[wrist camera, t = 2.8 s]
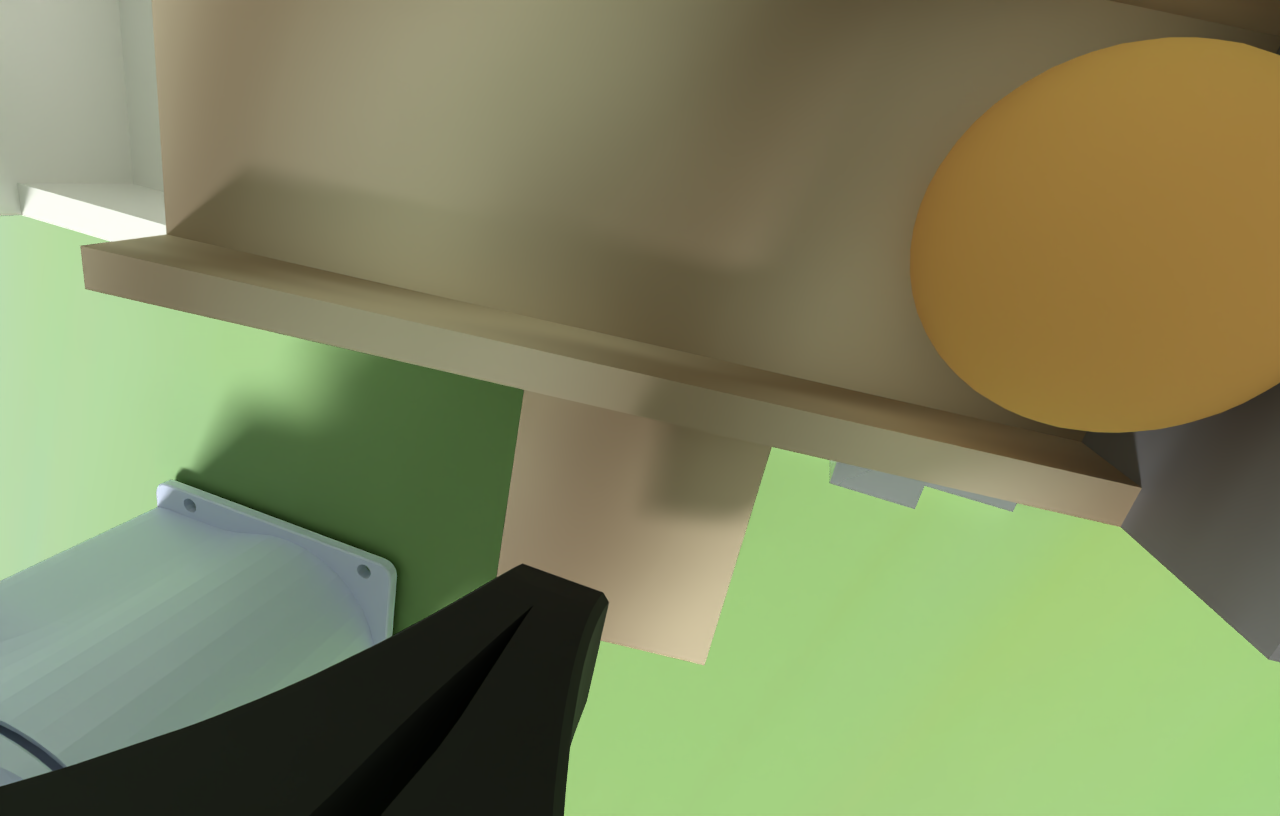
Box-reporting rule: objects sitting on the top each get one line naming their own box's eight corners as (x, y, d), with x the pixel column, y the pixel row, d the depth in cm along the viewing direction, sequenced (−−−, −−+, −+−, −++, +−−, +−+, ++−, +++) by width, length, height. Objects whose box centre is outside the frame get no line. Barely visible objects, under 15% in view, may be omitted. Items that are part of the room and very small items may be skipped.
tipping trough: (1354, 76, 11) (2478, -73, 4) (1048, 637, 15) (1327, 1033, 8) (294, -148, 11) (-364, -632, 4) (291, 459, 15) (-44, 695, 9)
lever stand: (549, 366, 18) (436, 436, 13) (635, -174, 14) (515, -391, 8) (1006, 500, 16) (1089, 650, 11) (1285, -93, 11) (1656, -323, 6)
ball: (830, 337, 10) (936, 454, 6) (929, 32, 8) (1150, -66, 4) (1089, 391, 10) (1351, 538, 6) (1231, 102, 8) (1691, 63, 5)
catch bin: (130, 205, 20) (-132, 211, 15) (98, -181, 17) (-261, -361, 11) (492, 306, 18) (341, 358, 12) (543, -116, 14) (364, -304, 9)
